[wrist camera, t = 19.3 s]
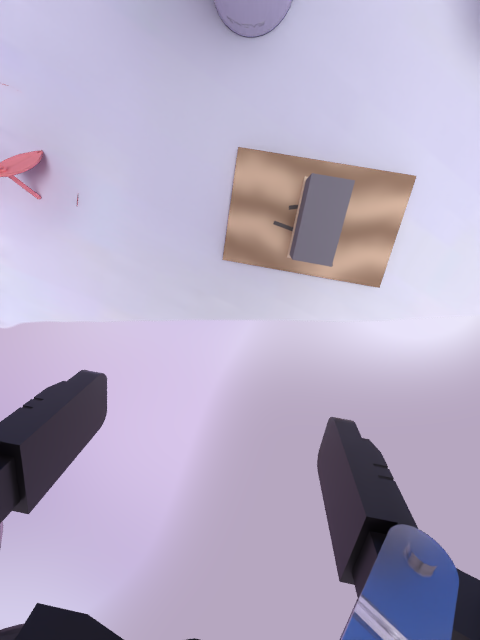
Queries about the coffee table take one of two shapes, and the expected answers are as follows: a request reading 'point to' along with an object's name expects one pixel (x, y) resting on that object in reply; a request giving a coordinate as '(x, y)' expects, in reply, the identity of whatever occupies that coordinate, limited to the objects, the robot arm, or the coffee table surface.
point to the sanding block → (320, 218)
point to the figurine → (21, 167)
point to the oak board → (281, 208)
